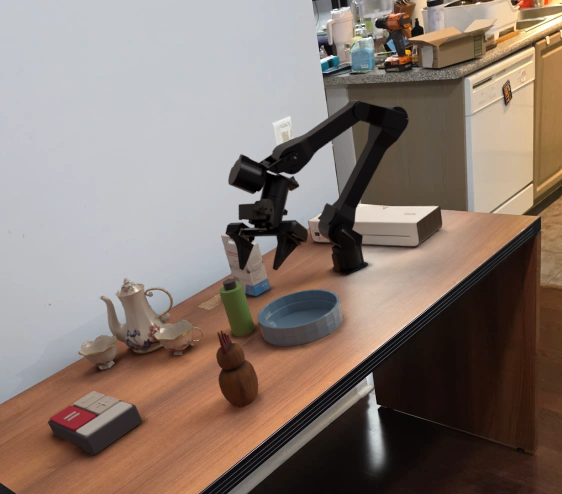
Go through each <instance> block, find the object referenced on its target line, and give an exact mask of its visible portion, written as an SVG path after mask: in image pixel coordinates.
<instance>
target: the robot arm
mask: <svg viewBox="0 0 562 494" xmlns="http://www.w3.org/2000/svg"><path fill="white" fill-rule="evenodd" d="M359 122H363V123H366V124H369V126H368V131H367V132H368V133H367V141H366V143H365V146H364V147H363V149H362V151H361V153H360V155H359V157H358V159H357V161H356V163H355V165H354V167H353V169H352V171H351V173H350V175H349V176H348V179H347V181H346V183H345V185H344V187H343V189H342V190H341V192H340V194H339V196H338V198H337V200H335V201H334V202H333V203H332V204H330V203H327V202H326V203H325V205H324V207H323V210H322V211H321V212H322V214H321V215H320V216H319V217H318V219H319V220H320V221H319V223H318V229H319V232H320V234H321V235H322V236H323V237H325V238H326V239H328V240H329V241H330V242H331V243H330V244H333V246H331V260H332V264H333V267H332V270H333V271H335V272H338V273H341V274H343V275H350V274H353V273H355V272H357V271H359V270H361V269H363V268H365V267H368V266H369V262H367V261H365V259H364V254H363V253H364V252H363V248H362V245H361V244H362V239H363V236H362V235H361V234H359V233H358V232H356V231H354V230H352V229H353V226H354V223H355V214H356V208H357V206H359V204H360V202H361V201H362V199H363V196H364V194H365V193H366V191H367V189H368V187H369V185H370V183H371V181H372V179H373V177H374V175H375V173H376V171H377V169H378V167H379V166H380V163H381V162H382V159H383V158H384V156H385V154H386V152H387V151H388V150H389V149H390V148H391V147H392V146H393V145H394V144H395V143H397V141H398V140H399V139H400V138H401V136H402V135H403V134H404V132H405V131H406V129H407V128H408V125H409V122H410V121H409V116H408V111H407V110H406V109H405V108H404V107H402V106H399V105H391V104H382V105H376V104H372V103H369V102H366V101H364V100H360V99H351V100H349V101H348V102H347V103H346V104H345V105H344V106H342V107H341V108H339V109H338V110H337V111H335V112H334V113H332V114H331V115H330V116H328V117H327V118H326V119H324V120H323V121H322V122H320V123H319V124H317V125H315V126H314V127H313V128H312V129H310V130H309V131H307V132H306V133H304V134H302V135H300V136H296V137H294V138H291V139H288V140H286V141H283V142H282V143H280V144H277V145H276V146H275V147H274V148H273V150H272V152H271V154H270V155H268V156H266V157H265V158H264V159H262V160H261V161H259V162H258V161H255V160H254V159H252V158H250V157H249V156H247V155H245V154H242V153H241V154H240V155H239V157H238V159H237V160H236V161H235V163H233V165H232V167H231V168H230V171H229V174H228V180H227V183H228V185H229V186H232V187H234V188H236V189H238V190H241V191H243V192H246V193H248V194H251V195H254V194H256V193H259V192H261V193H260V197H259V200H255V201H254V203H239V204H238V220H239V221H241V222H230V223H228V224H227V225H226V229H225V233H224V234H225V236H229V237H230V239H232V240H234V242H235V244H236V248H237V253H238V261H239V268H240V269H241V270H244V268H245V266H246V264H247V261H248V259H249V256H250V254H251V251H252V249H253V246H254V244H252V243H254V241H255V238H256V237H276V242H277V243H276V248H275V252H274V253H275V255H274V258H273V264H272V269H273V270H274V271H278V270H279V268H280V267H281V266H282V265H283V263H284V262H285V261H286V260H287V258H289V256H290V255H291V254H292V253H293V252H294V251H295V250H296V249H297V247H301V245H302V243H307V241H308V236H309V232H308V229H307V228H306V227H305V226H304V225H303V224H301V223H300V222H298V221H297V220H296V219H289V220H285V219H284V220H283V218H284V216H288V214H289V213H288V212H289V210H287V209H286V206H287V205H286V204H287V201H288V196H289V192H293V191H295V190H296V189H298V188H300V184H299V182H298V181H297V180H296V178H295V176H294V175H295V174H298V173H299V172H301V171H302V170H303V169H304V168H305V167H306V165H308V163H310V161H311V160H312V158H313V157H314V155H316V154H317V152H318V151H320V149H322V148H323V147H325V146H326V145H327V144H329V143H331V142H332V141H333V140H335V139H336V138H338V137H339V136H341V135H342V134H344V133H345V132H346V131H347V130H349V129H350V128H352V127H353V126H355V125H356V124H358V123H359ZM283 173H284V174H287V175H292V176H289V177H288V176H286V175H284V174H283ZM243 220H246V221H248V224H249V225H251V226H253V227H250V226H249V225H247V224H245V223H244V222H242V221H243ZM234 242H233V243H234Z"/></svg>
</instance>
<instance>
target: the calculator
mask: <svg viewBox="0 0 562 494" xmlns="http://www.w3.org/2000/svg"><path fill="white" fill-rule="evenodd" d="M141 423H143V419H142V417H141V414H140V412H139V410H138V408H137V406H136V405H135V404H133V403H129V402H127V401H124V400H121V399H119V398H116V397H112V396H110V395H106V394H103V393H101V392H98V391H94V390H92V391H91V392H88V393H87V394H86V395H84V396H82V397H81V398H79V399H78V400H76V401H74V402H73V404H72V405H68V406H67V407H65V408H63V409H61V410H60V411H59V412H57V413H55V414H54V415H52V416H50V417H49V420H48V421H47V424H48V426H49V427H50V429H51V431H52V433H53V435H54V436H57V437H59V438H61V439H63V440H65V441H67V442H69V443H71V444H73V445H75V446H77V447H79V448H80V449H81V450H82V451H84V452H86V453H88V454H90V455H92V456H95V455H97V454H99V453H100V452H101V451H103V450H104V449H106V447H109V446H110V445H111V444H113V443H114V442H115V441H117V440H118V439H120V438H122V437H123V436H124V435H126V434H127V433H129V432H130V431H132V430H133V429H135V428H136V427H137V426H139V425H140V424H141Z"/></svg>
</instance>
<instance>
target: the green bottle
mask: <svg viewBox="0 0 562 494" xmlns="http://www.w3.org/2000/svg"><path fill="white" fill-rule="evenodd" d="M222 285H223V286H221V287H220V288H219V291H218V292H219V295H220V298H221V302H222V304H223V307H224V311H225V314H226V317H227V321H228V324H229V327H230V330H231V333H232V335H233V336H236V337H241V336H245V335H248V334H250V333H252V332H253V331H254V330H255V329H256V328H255V322H254V320H253V316H252V312H251V309H250V306H249V303H248V299H247V296H246V294H245V292H244V289H243V285H242V284H241V283H236V282H235V279H233V278H227V279H225V280H223V281H222Z"/></svg>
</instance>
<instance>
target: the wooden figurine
mask: <svg viewBox="0 0 562 494" xmlns="http://www.w3.org/2000/svg"><path fill="white" fill-rule="evenodd" d="M217 337H218V341H219V345H220V346H219V347H218V349H217V351H216V355H215V356H216V357H215V358H216V363H217V364H218V367H220V369H221V370H220V371H219V374H218V380H217V381H218V385H219V388H220V391H221V394H222V395H223V397H224V399H225V400H226V402H228V404H230V405H231V406H233V407H236V408H244V407H247V406H248V405H250V404H252V403H253V402H255V400H256V399H257V397H258V394H259V378H258V375H257V372H256V370H255V368H254V365H253V364H252V363H251V362H250V361H248V360H246V356H245V352H244V350H243V347H242V346H241V345H240V344H239V343H237V342H232V340H231V338H230V336H229V334H227V332H224V331H223V330H222V329H220V332H219V331H218V332H217Z"/></svg>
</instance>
